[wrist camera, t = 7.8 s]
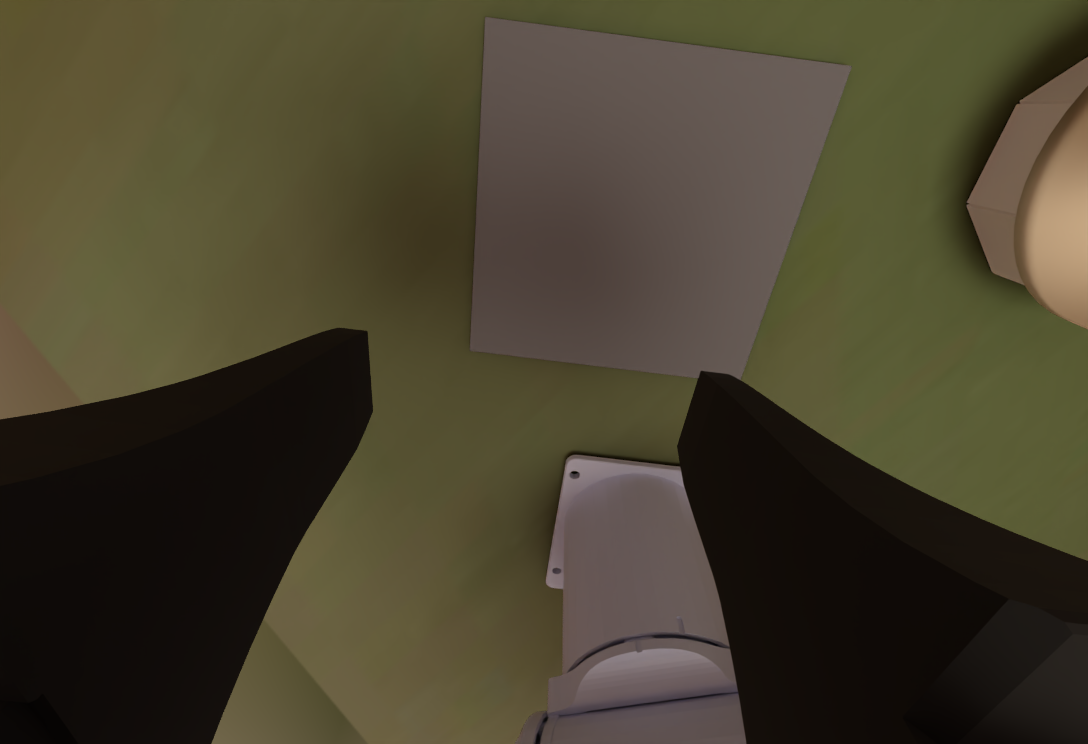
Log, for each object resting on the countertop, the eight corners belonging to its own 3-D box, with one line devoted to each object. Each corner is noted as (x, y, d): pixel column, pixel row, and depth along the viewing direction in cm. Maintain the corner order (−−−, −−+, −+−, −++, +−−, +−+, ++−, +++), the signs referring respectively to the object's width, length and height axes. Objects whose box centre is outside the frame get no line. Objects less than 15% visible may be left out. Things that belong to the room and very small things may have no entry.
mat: (737, 380, 22) (739, 383, 22) (471, 347, 22) (469, 350, 21) (847, 66, 16) (851, 66, 16) (486, 18, 16) (485, 17, 16)
